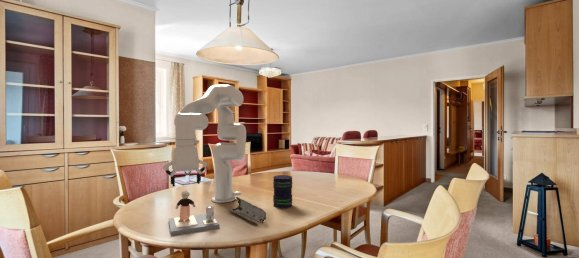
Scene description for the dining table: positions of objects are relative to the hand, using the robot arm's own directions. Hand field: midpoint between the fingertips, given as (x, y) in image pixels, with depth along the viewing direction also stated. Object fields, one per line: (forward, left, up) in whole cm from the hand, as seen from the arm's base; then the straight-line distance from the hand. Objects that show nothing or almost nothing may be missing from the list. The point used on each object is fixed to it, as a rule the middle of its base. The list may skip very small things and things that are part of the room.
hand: (186, 184), depth 117 cm
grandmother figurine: (0, 0, -15) cm, 15 cm away
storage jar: (-48, -8, -17) cm, 51 cm away
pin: (-9, +5, -15) cm, 18 cm away
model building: (-26, +1, -17) cm, 31 cm away
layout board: (-3, +1, -17) cm, 17 cm away
